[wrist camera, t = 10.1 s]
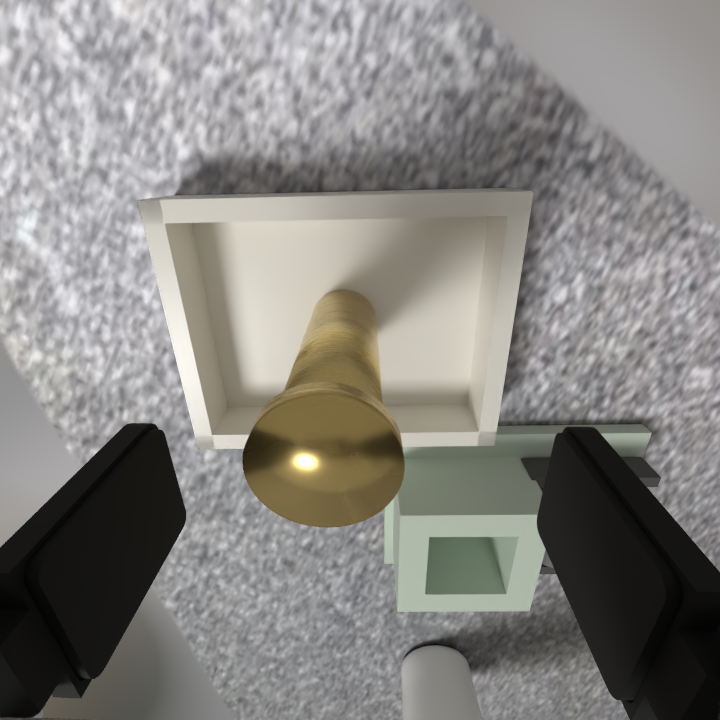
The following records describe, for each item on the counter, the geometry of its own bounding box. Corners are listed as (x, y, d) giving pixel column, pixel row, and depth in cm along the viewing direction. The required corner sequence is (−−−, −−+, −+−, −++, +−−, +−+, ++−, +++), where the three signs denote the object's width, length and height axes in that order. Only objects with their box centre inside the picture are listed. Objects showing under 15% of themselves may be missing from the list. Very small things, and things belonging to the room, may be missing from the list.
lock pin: (384, 279, 18) (406, 398, 8) (384, 356, 19) (402, 526, 10) (300, 281, 18) (230, 400, 9) (306, 358, 19) (254, 528, 10)
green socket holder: (642, 424, 22) (712, 487, 17) (598, 551, 26) (645, 628, 22) (384, 427, 22) (389, 490, 18) (383, 552, 26) (387, 628, 22)
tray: (506, 187, 17) (533, 191, 14) (478, 410, 21) (494, 445, 19) (173, 195, 17) (137, 200, 14) (219, 414, 22) (198, 449, 19)
